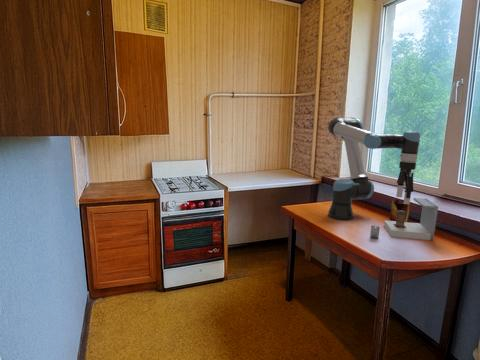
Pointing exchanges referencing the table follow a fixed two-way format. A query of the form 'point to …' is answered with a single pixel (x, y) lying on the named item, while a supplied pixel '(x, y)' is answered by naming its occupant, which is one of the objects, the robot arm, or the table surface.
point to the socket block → (417, 229)
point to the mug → (396, 207)
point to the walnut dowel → (400, 219)
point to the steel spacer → (374, 232)
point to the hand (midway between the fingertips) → (402, 200)
